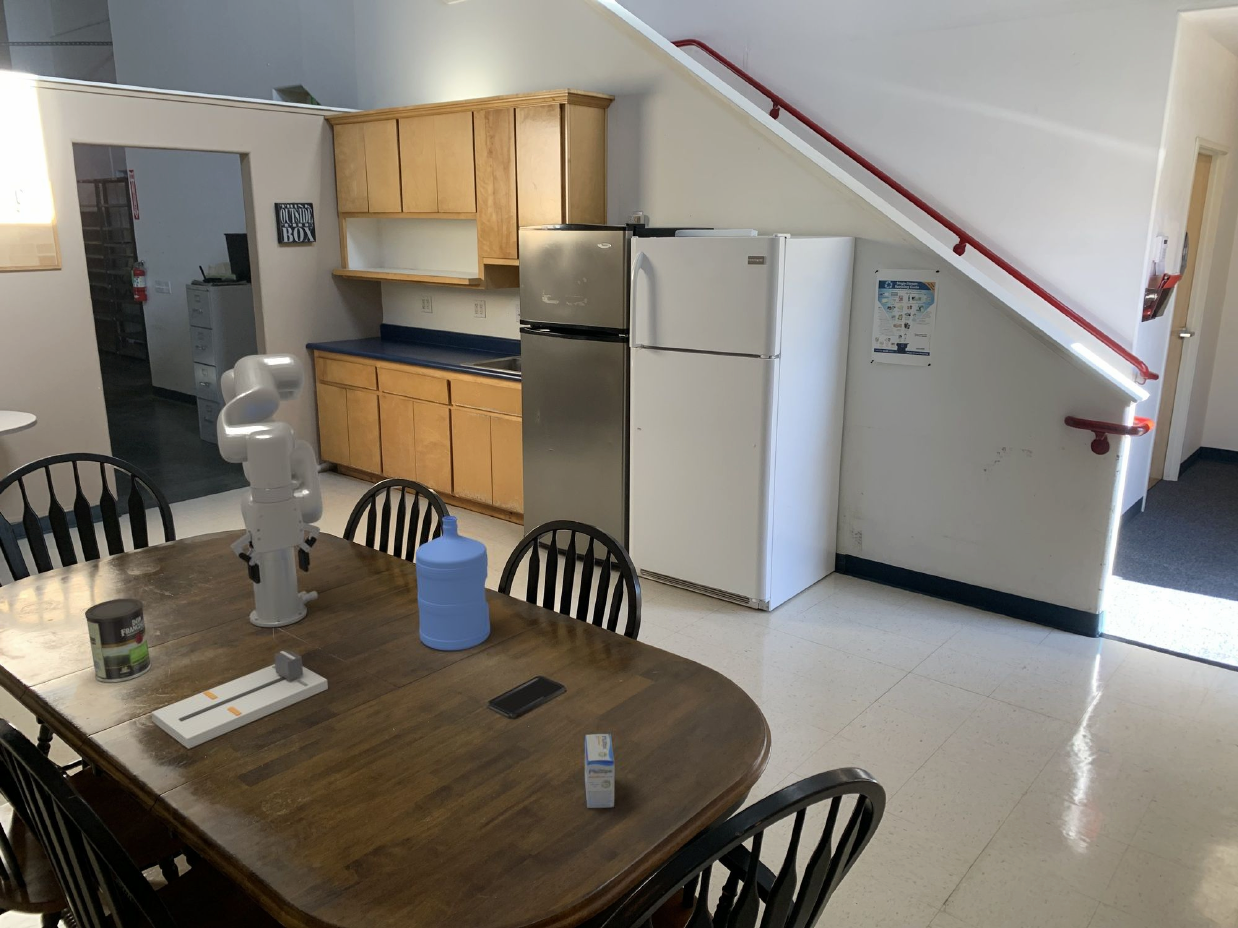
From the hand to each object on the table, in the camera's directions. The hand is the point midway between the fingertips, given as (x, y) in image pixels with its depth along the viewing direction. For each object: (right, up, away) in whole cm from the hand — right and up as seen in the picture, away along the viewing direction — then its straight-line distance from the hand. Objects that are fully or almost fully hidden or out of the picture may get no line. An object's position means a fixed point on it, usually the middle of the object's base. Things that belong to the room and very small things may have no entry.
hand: (280, 575), depth 180 cm
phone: (+49, -24, -3) cm, 55 cm away
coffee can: (-35, -21, +7) cm, 42 cm away
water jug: (+31, -17, +23) cm, 42 cm away
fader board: (-5, -24, -6) cm, 25 cm away
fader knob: (+1, -20, +1) cm, 20 cm away
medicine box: (+64, -32, -33) cm, 79 cm away
